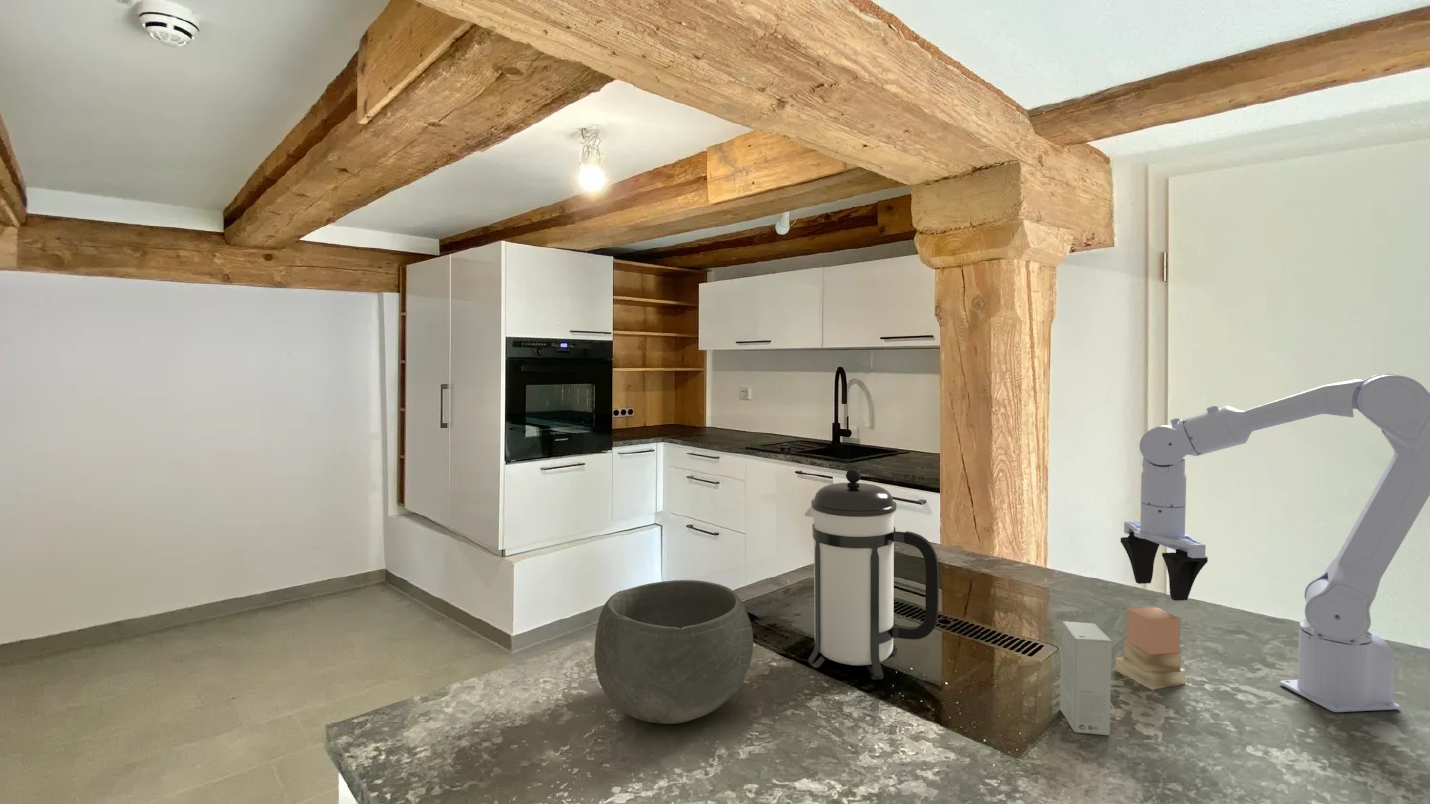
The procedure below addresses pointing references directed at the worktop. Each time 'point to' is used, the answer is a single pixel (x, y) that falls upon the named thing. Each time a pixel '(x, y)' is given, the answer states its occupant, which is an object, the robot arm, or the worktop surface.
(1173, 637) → the cube
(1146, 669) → the tower mid
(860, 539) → the coffee press
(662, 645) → the bowl
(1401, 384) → the robot arm
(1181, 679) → the tower base
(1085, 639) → the skincare box
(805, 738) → the worktop surface
